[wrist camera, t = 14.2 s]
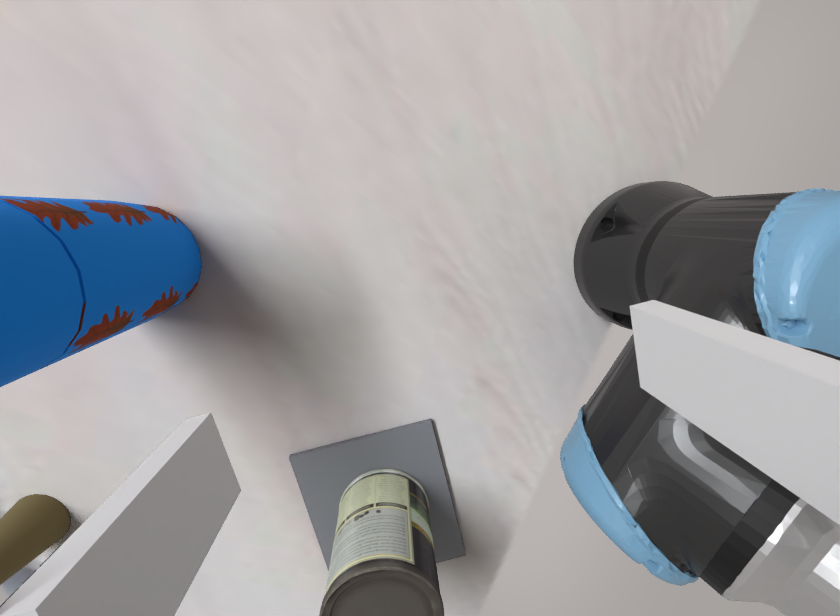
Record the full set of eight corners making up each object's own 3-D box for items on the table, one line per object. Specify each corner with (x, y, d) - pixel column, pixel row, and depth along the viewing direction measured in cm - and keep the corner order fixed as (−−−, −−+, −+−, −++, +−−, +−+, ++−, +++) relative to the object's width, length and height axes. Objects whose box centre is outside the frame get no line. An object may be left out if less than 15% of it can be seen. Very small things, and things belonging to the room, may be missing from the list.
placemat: (430, 418, 48) (431, 421, 47) (464, 551, 52) (465, 555, 51) (290, 454, 48) (289, 457, 47) (335, 585, 52) (335, 589, 51)
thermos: (164, 333, 44) (-116, 484, 19) (66, 269, 42) (-385, 347, 17) (224, 249, 42) (4, 297, 18) (126, 178, 40) (-272, 125, 16)
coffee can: (446, 492, 49) (468, 600, 36) (398, 559, 51) (401, 688, 37) (369, 451, 48) (361, 548, 34) (321, 522, 49) (295, 642, 35)
